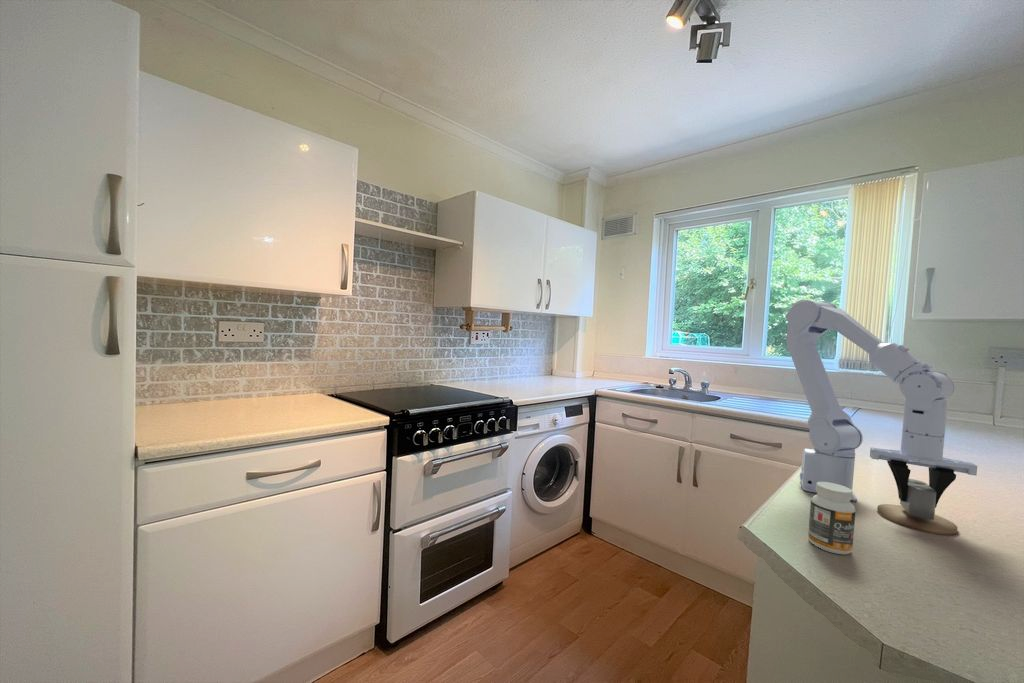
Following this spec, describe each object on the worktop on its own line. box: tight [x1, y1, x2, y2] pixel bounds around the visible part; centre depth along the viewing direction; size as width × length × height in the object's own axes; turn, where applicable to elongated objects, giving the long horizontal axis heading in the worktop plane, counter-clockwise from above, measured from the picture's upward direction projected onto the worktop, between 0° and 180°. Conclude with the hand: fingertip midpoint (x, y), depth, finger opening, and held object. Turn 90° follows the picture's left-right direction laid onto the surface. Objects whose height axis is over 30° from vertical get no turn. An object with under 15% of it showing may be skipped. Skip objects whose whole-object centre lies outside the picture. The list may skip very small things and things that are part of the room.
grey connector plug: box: [899, 478, 936, 520], centre depth 79 cm, size 11×4×5 cm, turn 148°
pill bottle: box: [807, 482, 856, 555], centre depth 66 cm, size 6×6×10 cm
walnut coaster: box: [876, 503, 958, 536], centre depth 79 cm, size 11×11×1 cm
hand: (916, 502), depth 79 cm, fingers closed on grey connector plug, 3 cm apart
